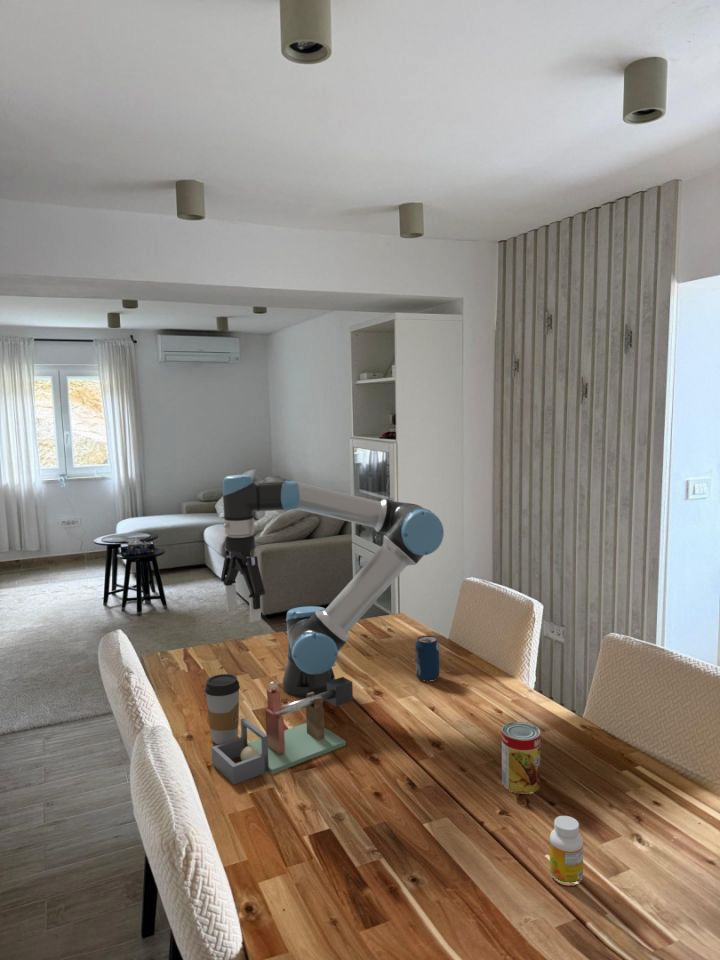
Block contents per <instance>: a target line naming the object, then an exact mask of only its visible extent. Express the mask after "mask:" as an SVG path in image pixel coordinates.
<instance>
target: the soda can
mask: <svg viewBox="0 0 720 960" xmlns="http://www.w3.org/2000/svg"><path fill="white" fill-rule="evenodd" d="M414 649H415V675H416V678H417V679H418V678H419V679H420V680H419V679H418V680H419V681H421V680H425V681H430V680H435V679H436V680H437V679H438V678H439V676H440V643H439V642H438V638H437V637H436V636H433V635H420V636H418V637H417V639H416V642H415V648H414ZM436 680H435V681H436Z"/></svg>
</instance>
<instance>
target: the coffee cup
mask: <svg viewBox="0 0 720 960" xmlns="http://www.w3.org/2000/svg"><path fill="white" fill-rule="evenodd" d="M240 686H241V685H240V681H239V680H238V677H237V676H236V675H234V674H232V673H231V674H229V673H224V674H223V673H222V674H217V675H213V676H211V677H209V678H208V679H207V680H206V684H205V686H204V687H205V688H204V693H205V694H206V695H205V696H206V706H207V708H206V709H207V714H208V716H207V717H208V723H209V728H210V729H209V730H210V737H211V740H212V742H213V743H214V744H216V745H219V744H222V743H225V742H228V741H231V740H234V739H237V738H238V736H239V724H240V723H239V720H240V719H239V718H240V714H239V713H240V702H239V701H240V700H239V699H240V696H239V695H240V688H241V687H240Z"/></svg>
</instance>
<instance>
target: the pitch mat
mask: <svg viewBox="0 0 720 960" xmlns="http://www.w3.org/2000/svg"><path fill="white" fill-rule="evenodd" d="M284 740H285V753H284V754H281V755H279V754H278V753H277V752H275V751H274V750H273V749H272V748H270V747H269V746H268V763H269V771H268V772H269V773H270V774H271V775H273V774H276V773H278V772H279V773H280V772H281V771H283V770H287V769H289V768H292V767H294V766H297V765H300V764H302V763H305V762H307V761H308V760H312V759H314V758H317V757H319V756H322V755H324V754H327V753H329V752H332V751H335V750H338V749H340V748H343V747H344V746H346V745H347V742H346V740H344V739H343V738H341V737H340V736H339V735H336V734H335V732H332V731H331V730H329V729H328V728H326V727H325V726H324V739H321V740H317V739H315V738H314V737H312V736H311V735H309V734H308V733H307V722H304V723H302V724H300V725H297V726H293V727H291V728H288V729H284ZM247 744H248V746H252V747H254V748H256V749H257V751H258V755H260V754H262V742H261V738H260V739H256V740H254V741H251V742H247Z"/></svg>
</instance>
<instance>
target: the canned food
mask: <svg viewBox="0 0 720 960" xmlns="http://www.w3.org/2000/svg"><path fill="white" fill-rule="evenodd" d="M501 784H503V785H504V786H505V788H507V789H508V790H510V791H513V792H515V793H530V792H534V791H536V790H537V789H539V787H540V788H541V730H540V728H539V727H538V726H536V725H534V724H532V723H528V722H525V721H512V722H510V721H509V722H508V723H506V724H503V726H502V727H501ZM503 785H502V786H503ZM505 788H504V789H505ZM508 790H507V791H508ZM539 790H540V789H539ZM510 791H509V792H510ZM515 793H514V794H515Z"/></svg>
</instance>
